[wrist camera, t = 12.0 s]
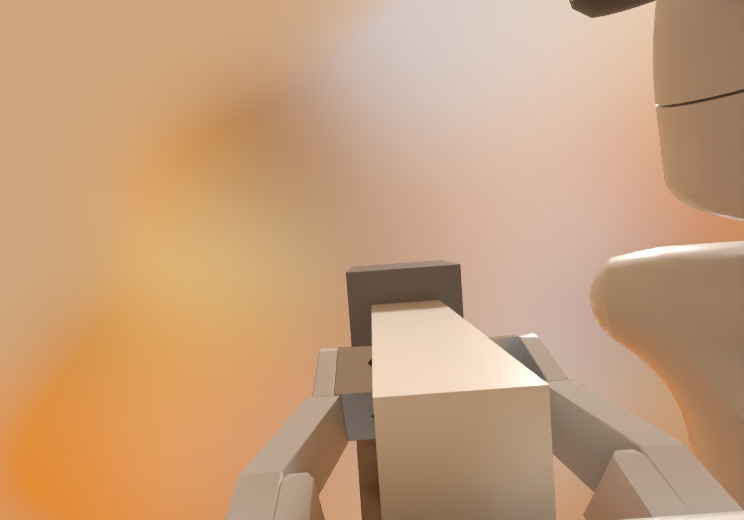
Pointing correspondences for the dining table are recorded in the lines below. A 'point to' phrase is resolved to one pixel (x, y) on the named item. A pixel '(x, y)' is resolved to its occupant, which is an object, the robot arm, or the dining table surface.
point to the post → (369, 479)
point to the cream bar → (448, 403)
